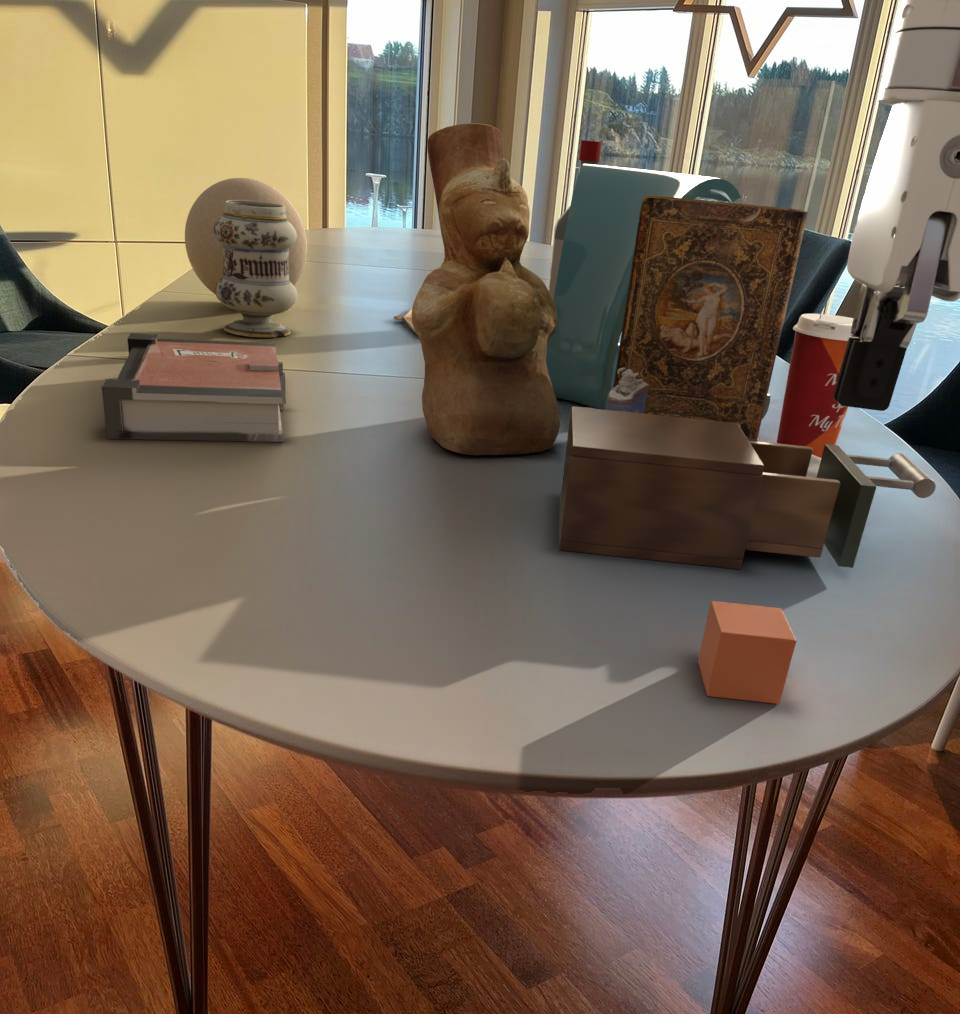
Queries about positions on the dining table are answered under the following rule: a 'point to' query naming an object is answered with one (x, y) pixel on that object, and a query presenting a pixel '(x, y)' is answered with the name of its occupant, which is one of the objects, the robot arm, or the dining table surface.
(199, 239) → the decorative sphere
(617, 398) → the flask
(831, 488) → the drawer
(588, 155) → the liquor
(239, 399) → the book
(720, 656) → the block
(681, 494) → the cabinet
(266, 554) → the dining table surface
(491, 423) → the ceramic vessel
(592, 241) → the curved teal holder
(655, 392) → the book
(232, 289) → the apothecary jar
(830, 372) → the coffee cup
